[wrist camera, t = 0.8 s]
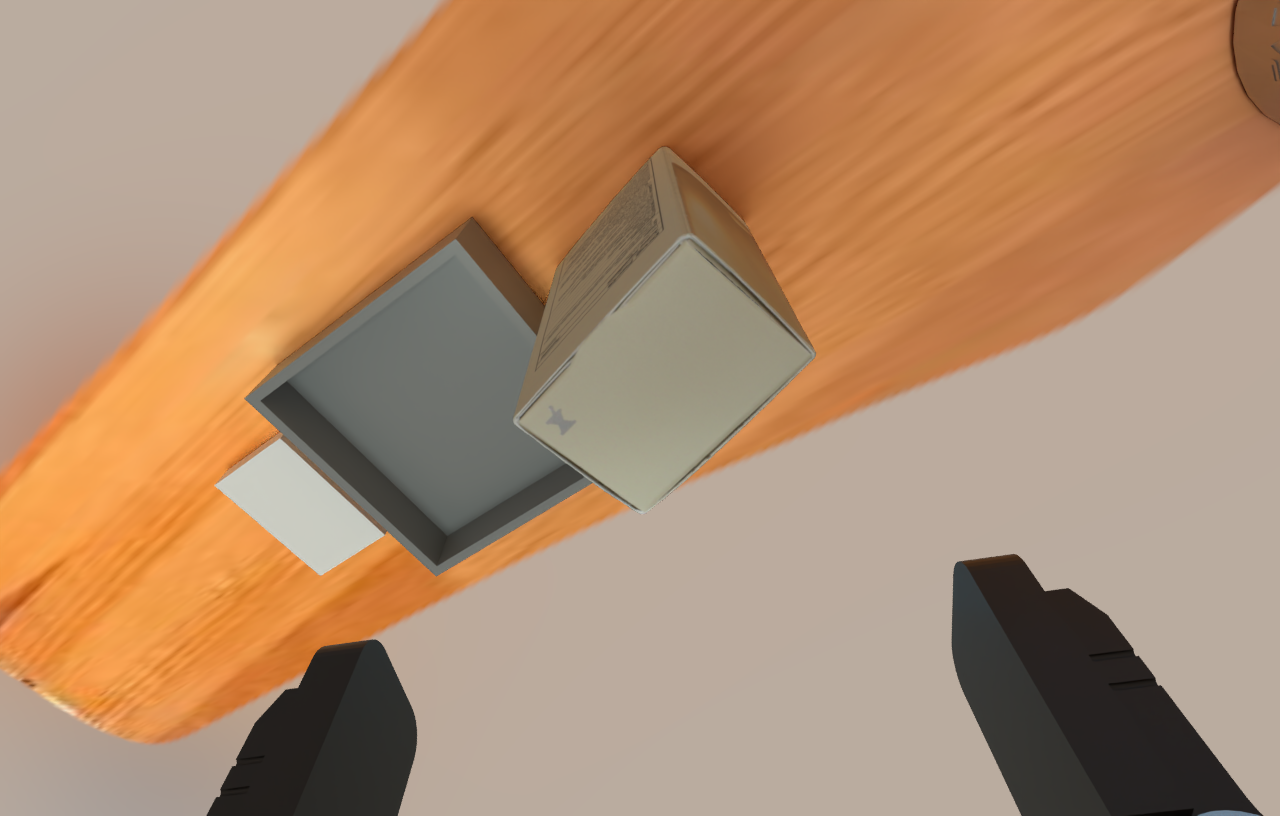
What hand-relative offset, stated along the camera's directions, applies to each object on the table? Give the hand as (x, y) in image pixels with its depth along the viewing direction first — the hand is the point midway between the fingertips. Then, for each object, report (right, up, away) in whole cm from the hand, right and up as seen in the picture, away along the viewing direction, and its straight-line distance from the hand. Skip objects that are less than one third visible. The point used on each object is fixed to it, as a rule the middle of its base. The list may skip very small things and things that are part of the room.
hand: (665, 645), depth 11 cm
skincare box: (0, +9, +18) cm, 20 cm away
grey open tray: (-10, +3, +21) cm, 24 cm away
